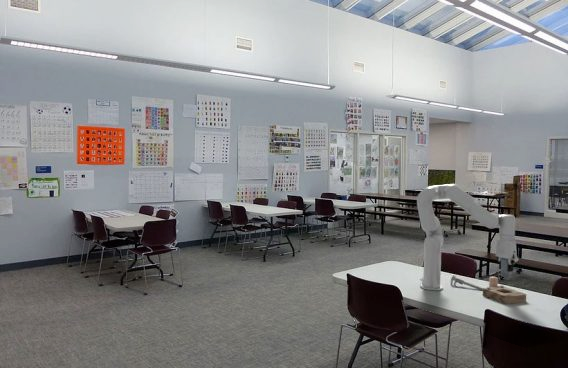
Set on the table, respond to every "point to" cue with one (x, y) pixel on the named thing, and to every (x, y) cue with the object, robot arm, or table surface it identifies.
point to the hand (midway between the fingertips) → (505, 269)
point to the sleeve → (505, 268)
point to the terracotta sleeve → (493, 282)
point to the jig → (504, 294)
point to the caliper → (464, 283)
